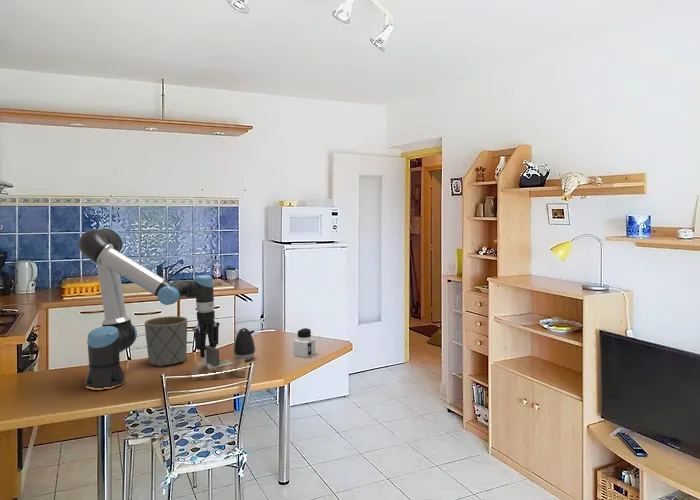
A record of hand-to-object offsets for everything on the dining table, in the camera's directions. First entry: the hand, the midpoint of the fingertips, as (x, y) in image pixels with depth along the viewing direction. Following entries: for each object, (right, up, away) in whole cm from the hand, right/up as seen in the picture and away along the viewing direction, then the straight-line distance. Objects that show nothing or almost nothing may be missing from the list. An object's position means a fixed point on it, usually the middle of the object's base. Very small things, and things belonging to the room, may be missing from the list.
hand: (208, 362), depth 235 cm
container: (+40, -2, +28) cm, 49 cm away
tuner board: (+4, -5, +2) cm, 7 cm away
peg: (+5, -2, 0) cm, 6 cm away
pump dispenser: (+12, -3, +22) cm, 25 cm away
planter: (-24, -4, +19) cm, 31 cm away
